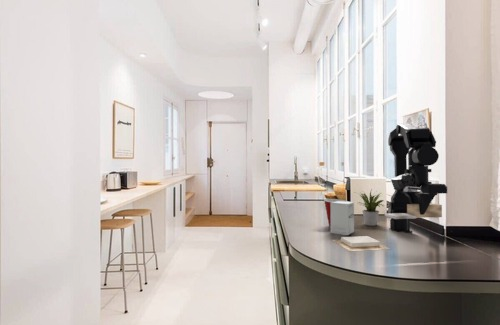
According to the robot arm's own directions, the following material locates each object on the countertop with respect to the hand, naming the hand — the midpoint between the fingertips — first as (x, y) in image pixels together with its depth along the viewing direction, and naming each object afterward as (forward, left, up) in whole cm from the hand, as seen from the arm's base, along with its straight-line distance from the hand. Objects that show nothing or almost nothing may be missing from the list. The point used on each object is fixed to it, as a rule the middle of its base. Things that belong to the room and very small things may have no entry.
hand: (418, 213), depth 99 cm
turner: (+2, 0, -1) cm, 2 cm away
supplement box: (+15, -25, -12) cm, 31 cm away
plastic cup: (+12, -38, -12) cm, 41 cm away
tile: (+12, -7, -10) cm, 17 cm away
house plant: (-4, -40, -12) cm, 41 cm away
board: (+17, -7, -12) cm, 22 cm away
